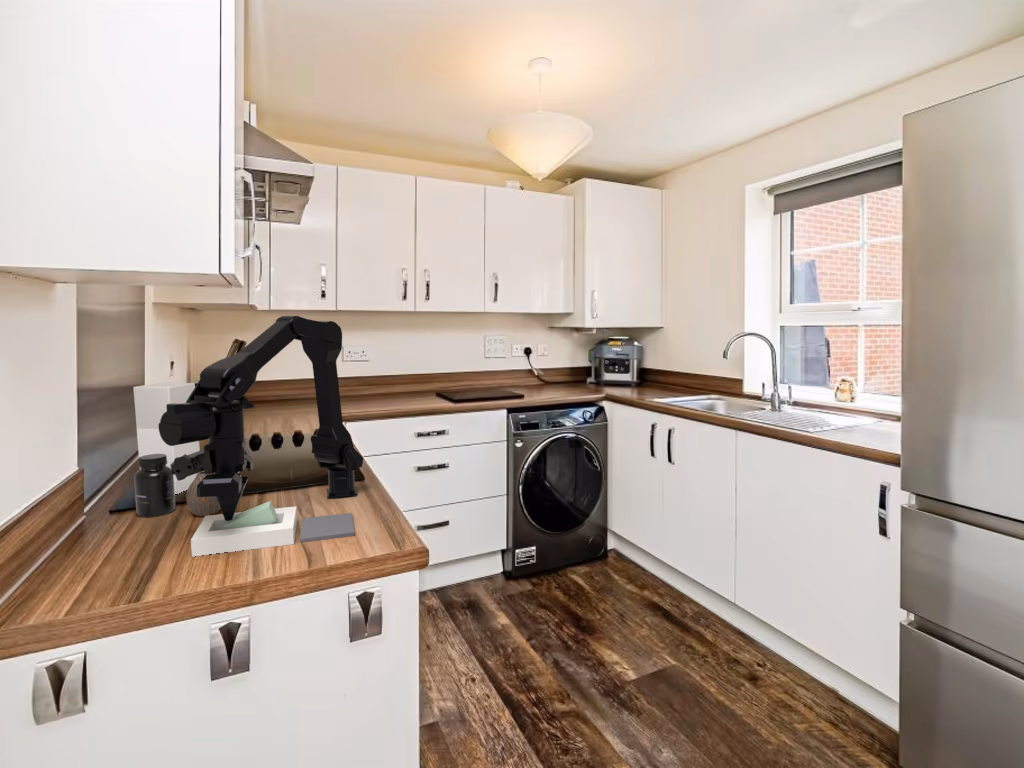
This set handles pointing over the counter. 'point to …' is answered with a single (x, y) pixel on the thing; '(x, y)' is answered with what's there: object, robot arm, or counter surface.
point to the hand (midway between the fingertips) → (228, 520)
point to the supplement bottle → (154, 486)
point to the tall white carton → (148, 418)
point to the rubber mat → (327, 527)
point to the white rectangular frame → (243, 534)
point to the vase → (201, 499)
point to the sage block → (253, 517)
